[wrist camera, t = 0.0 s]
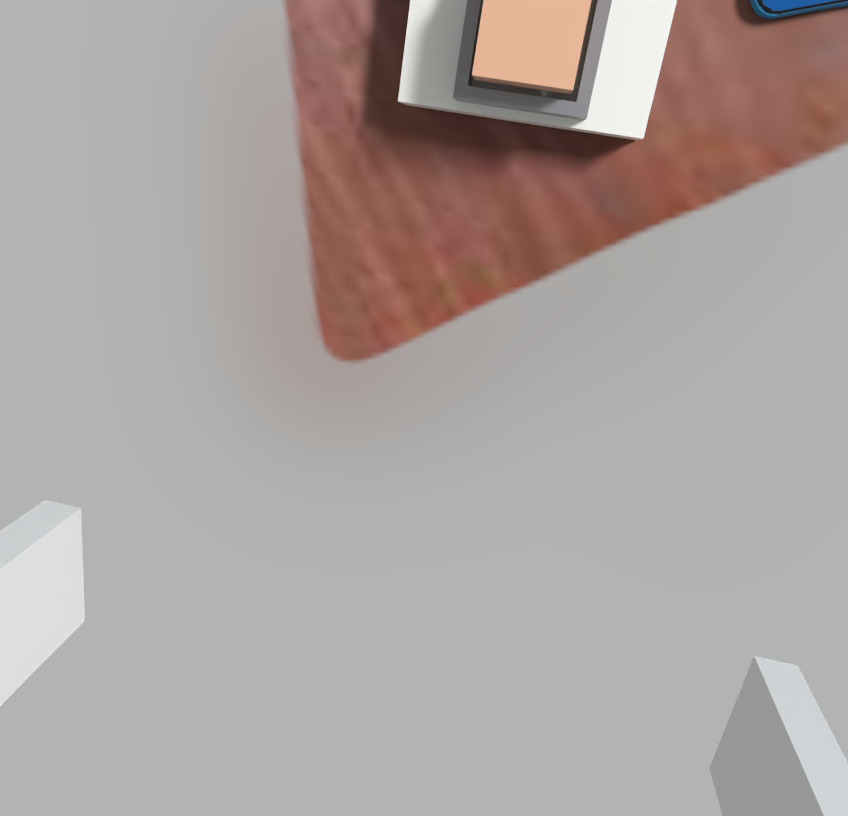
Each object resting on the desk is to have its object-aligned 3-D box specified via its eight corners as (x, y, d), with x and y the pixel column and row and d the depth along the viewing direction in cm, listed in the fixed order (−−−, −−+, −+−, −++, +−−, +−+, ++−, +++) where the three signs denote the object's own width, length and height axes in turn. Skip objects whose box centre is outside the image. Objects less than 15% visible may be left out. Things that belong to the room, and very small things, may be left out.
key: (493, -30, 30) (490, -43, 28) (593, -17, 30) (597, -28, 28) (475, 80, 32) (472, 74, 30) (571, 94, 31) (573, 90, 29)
